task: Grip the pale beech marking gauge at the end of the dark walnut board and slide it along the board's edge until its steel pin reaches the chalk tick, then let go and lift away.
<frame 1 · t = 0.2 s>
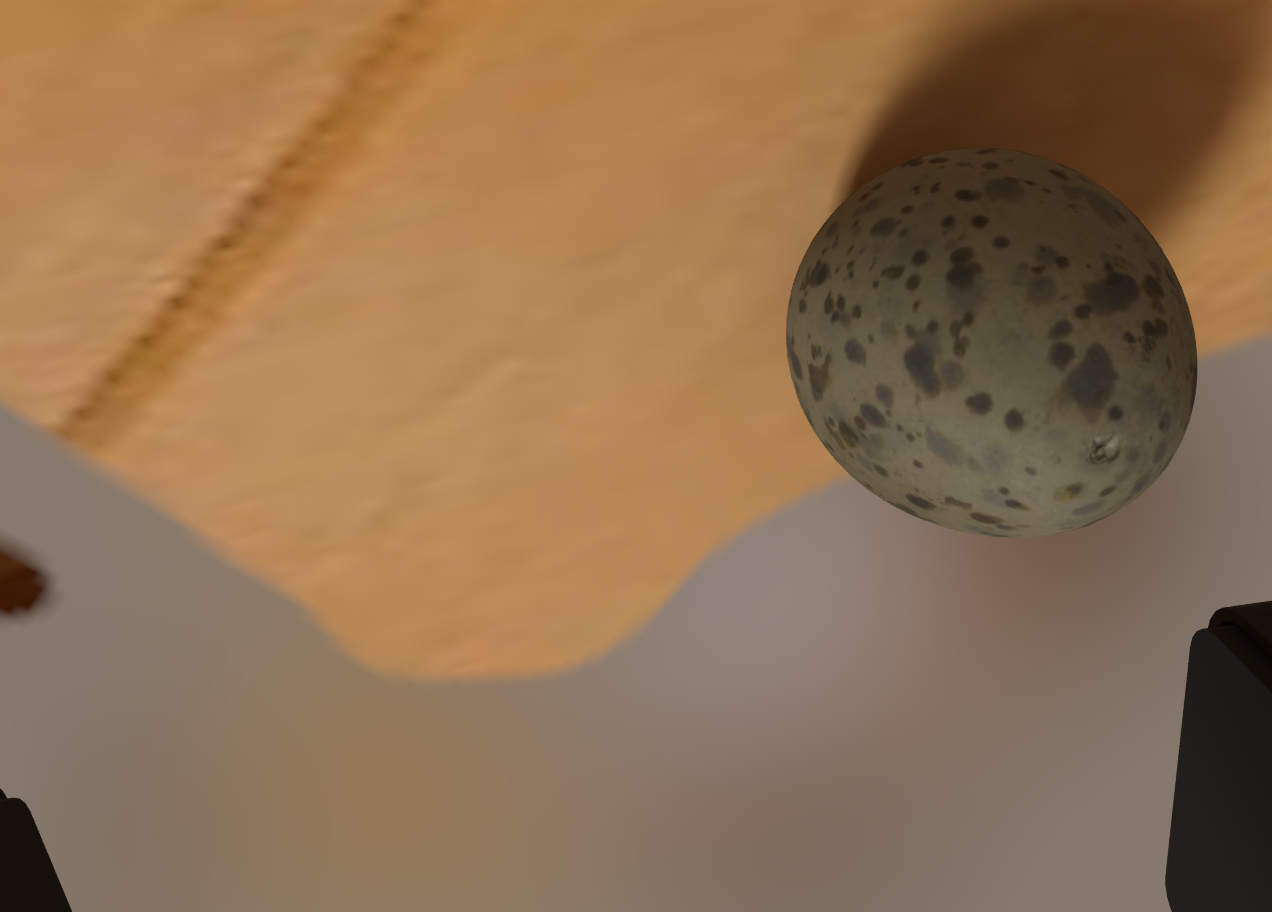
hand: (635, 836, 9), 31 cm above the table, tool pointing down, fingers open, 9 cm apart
decorative egg: (904, 277, 40), on the table
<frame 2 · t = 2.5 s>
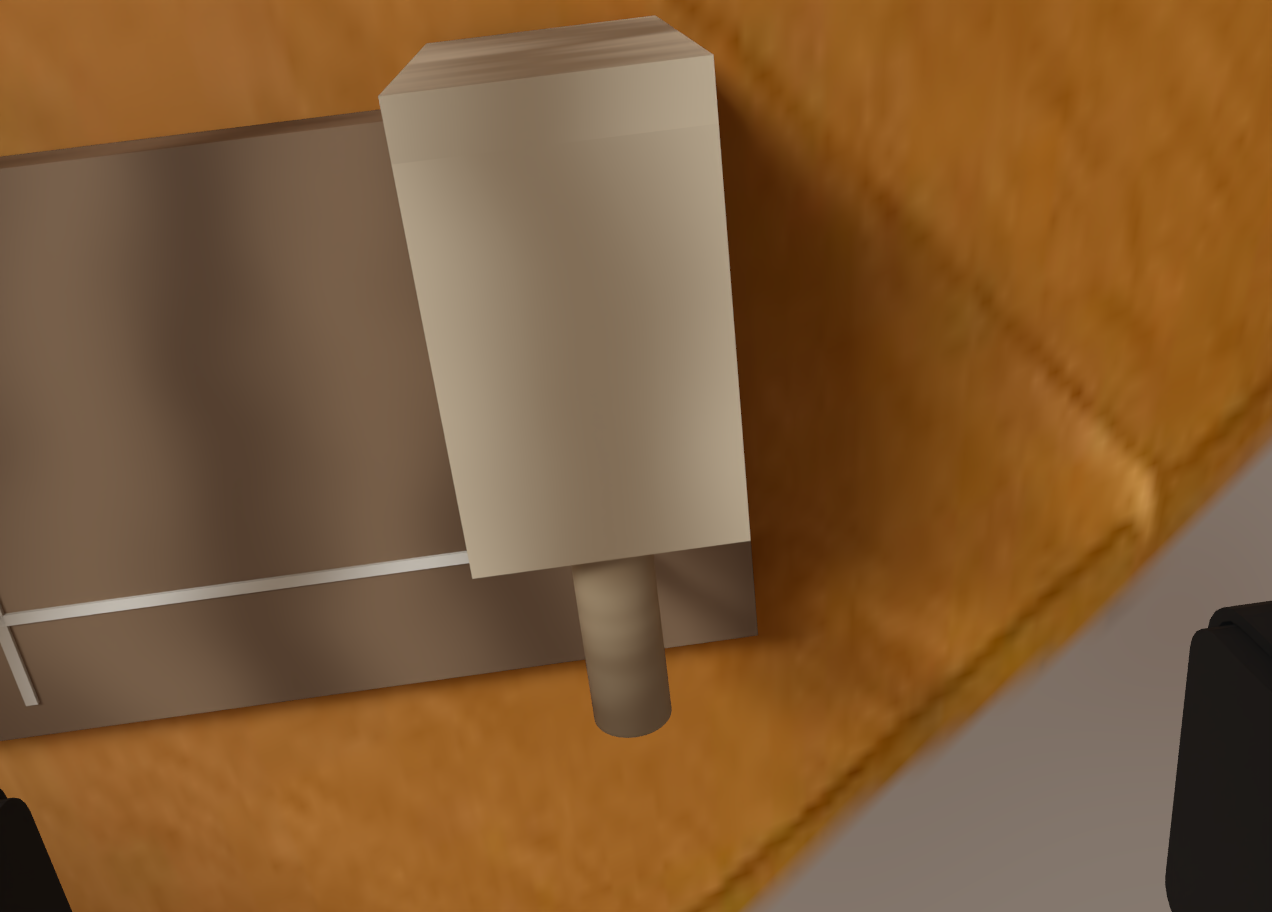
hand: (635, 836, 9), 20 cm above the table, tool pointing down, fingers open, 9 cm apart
marking gauge: (587, 374, 24), point 5 cm above the table, slide at 0.0 cm
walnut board: (269, 419, 29), on the table
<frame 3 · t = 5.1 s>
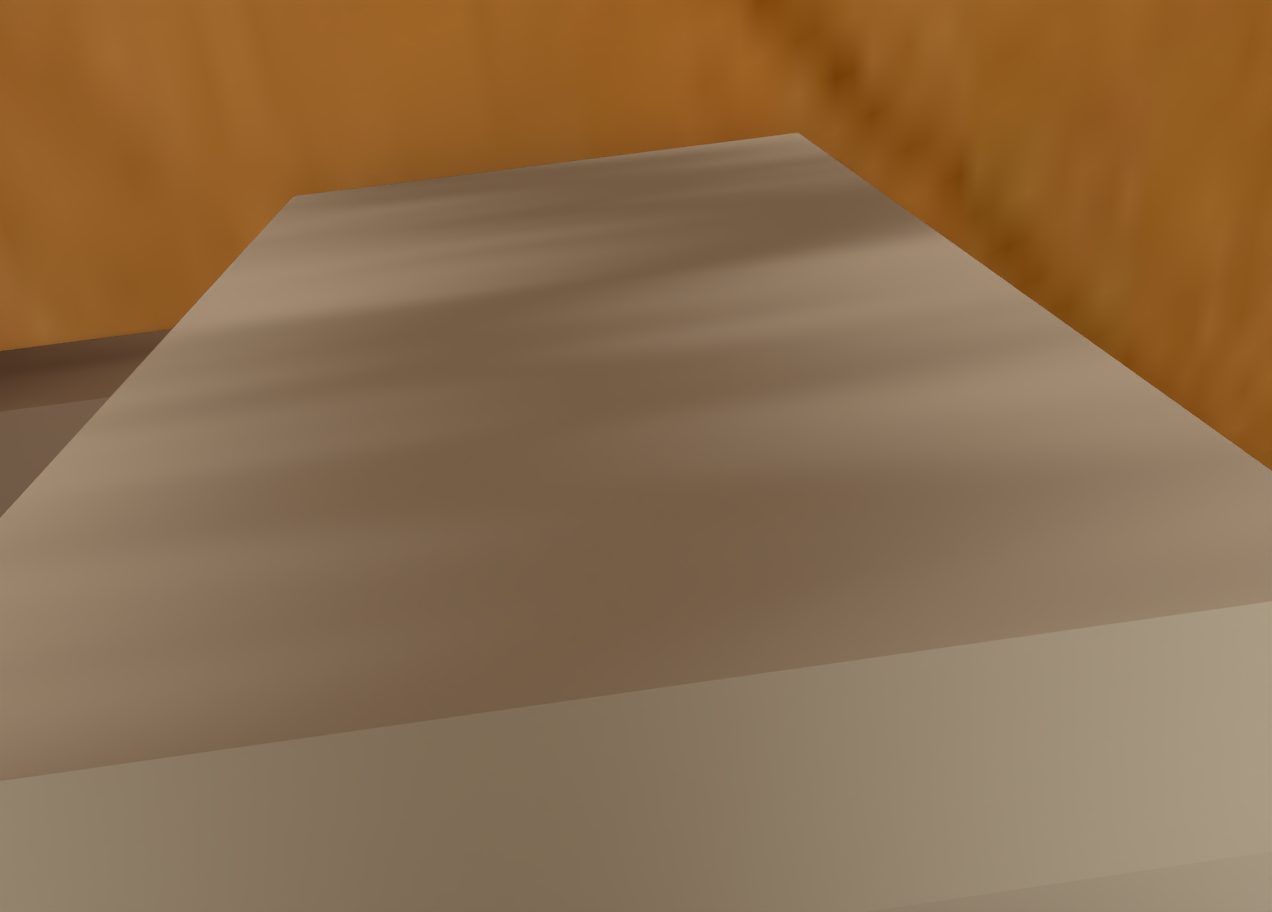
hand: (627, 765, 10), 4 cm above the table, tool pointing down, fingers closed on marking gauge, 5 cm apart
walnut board: (23, 880, 15), on the table
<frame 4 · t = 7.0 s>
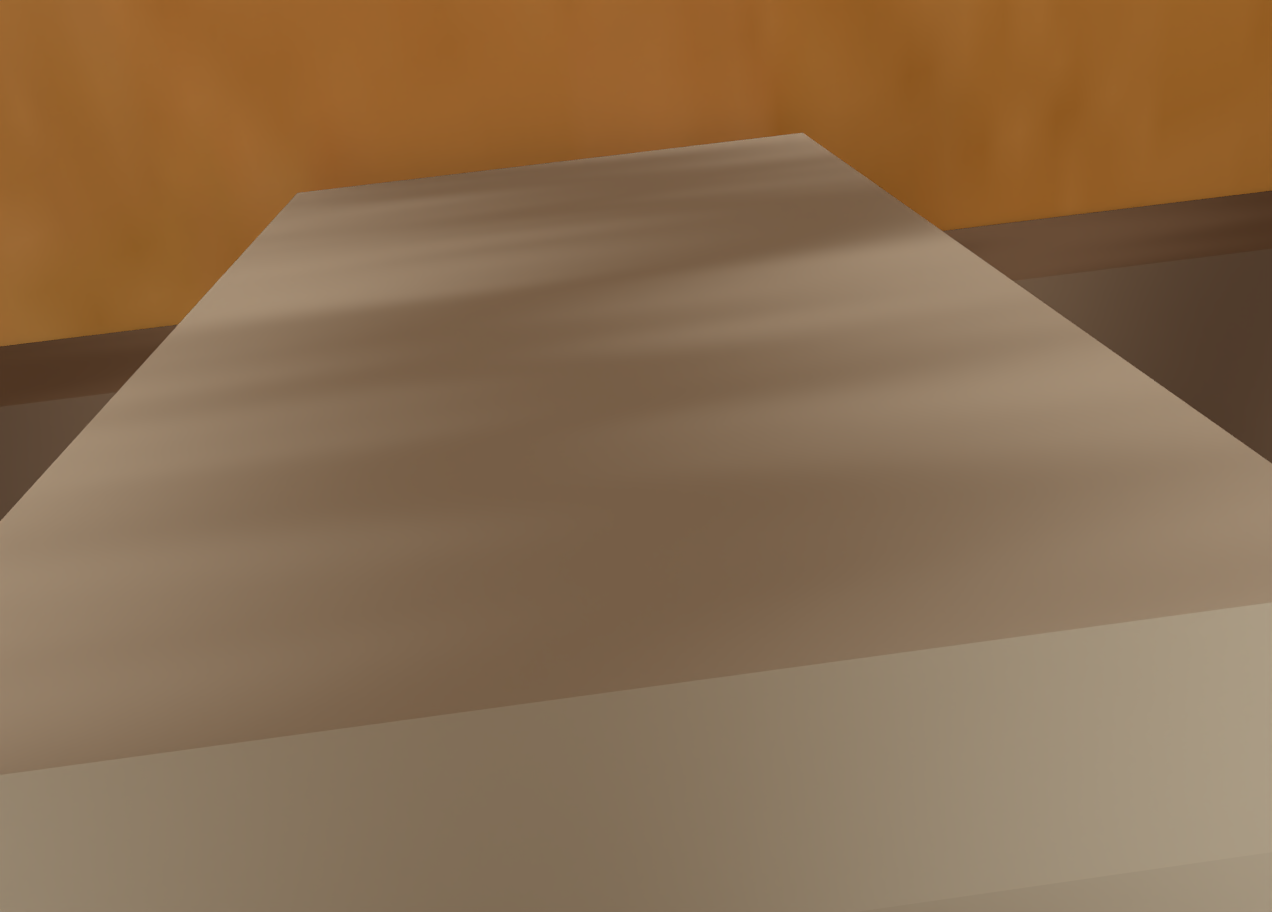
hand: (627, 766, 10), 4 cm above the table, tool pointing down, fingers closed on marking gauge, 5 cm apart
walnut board: (626, 792, 15), on the table
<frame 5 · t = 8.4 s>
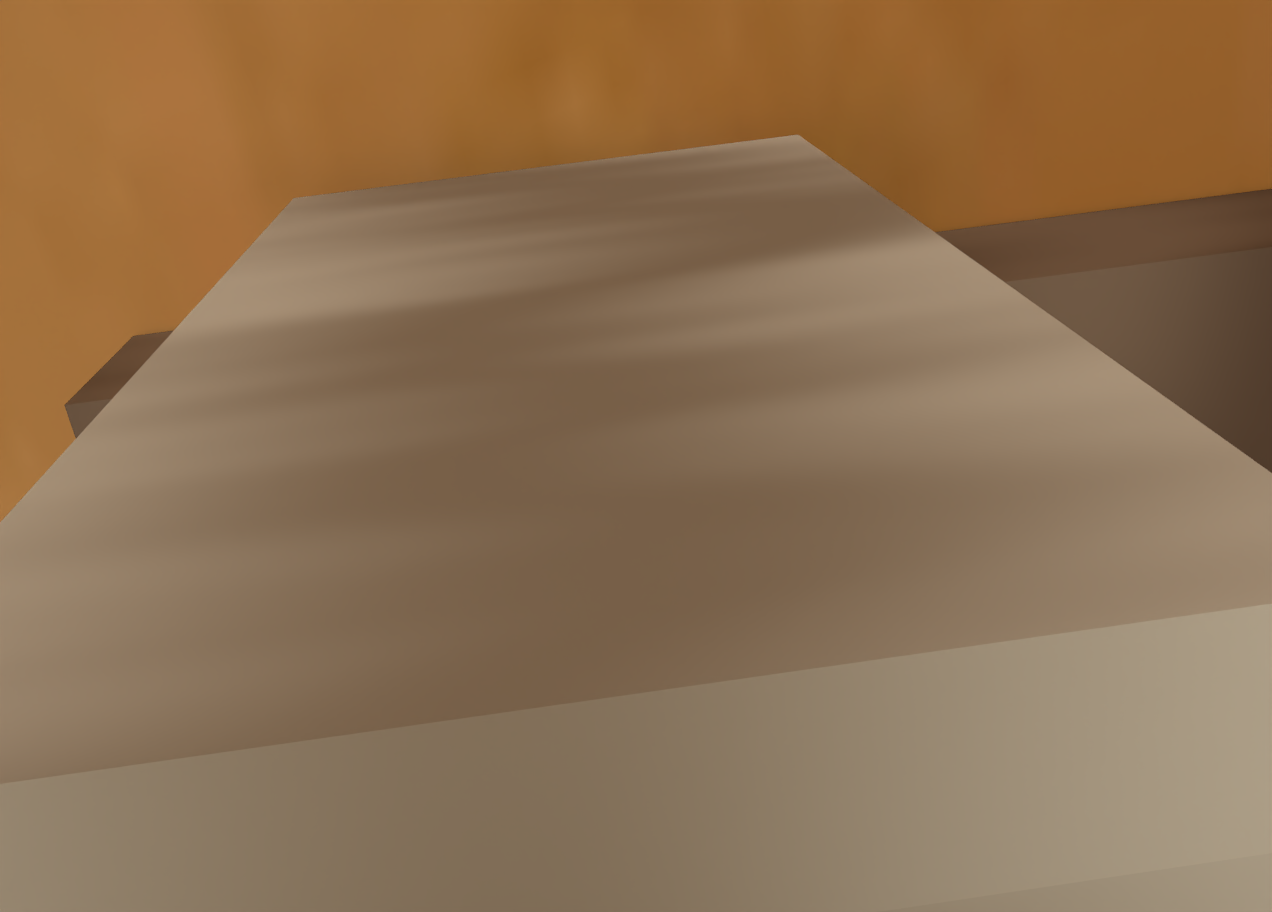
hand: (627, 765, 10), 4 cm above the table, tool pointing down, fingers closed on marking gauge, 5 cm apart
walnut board: (1145, 719, 16), on the table
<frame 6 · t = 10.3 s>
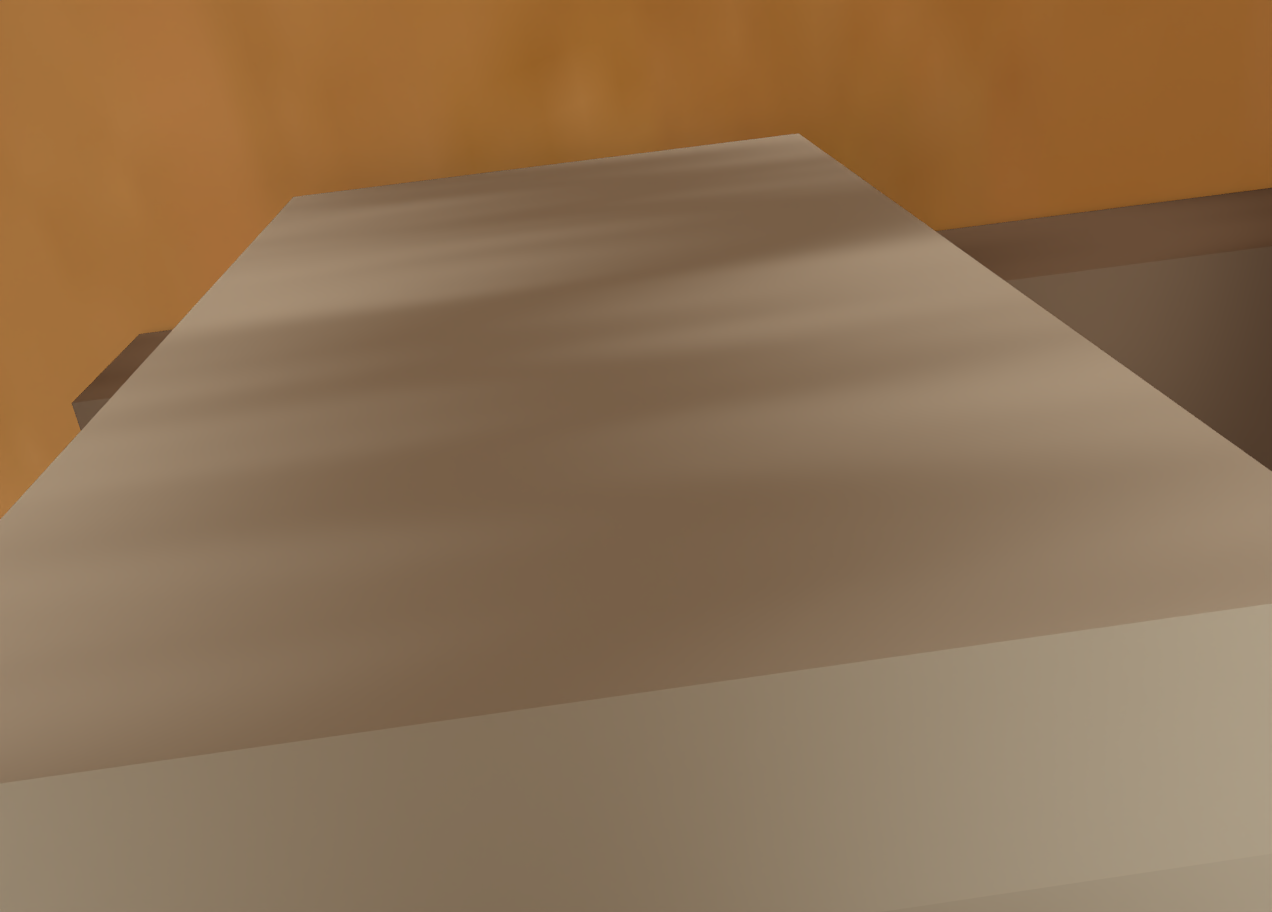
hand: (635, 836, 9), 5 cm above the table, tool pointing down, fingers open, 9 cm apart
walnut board: (1151, 718, 16), on the table
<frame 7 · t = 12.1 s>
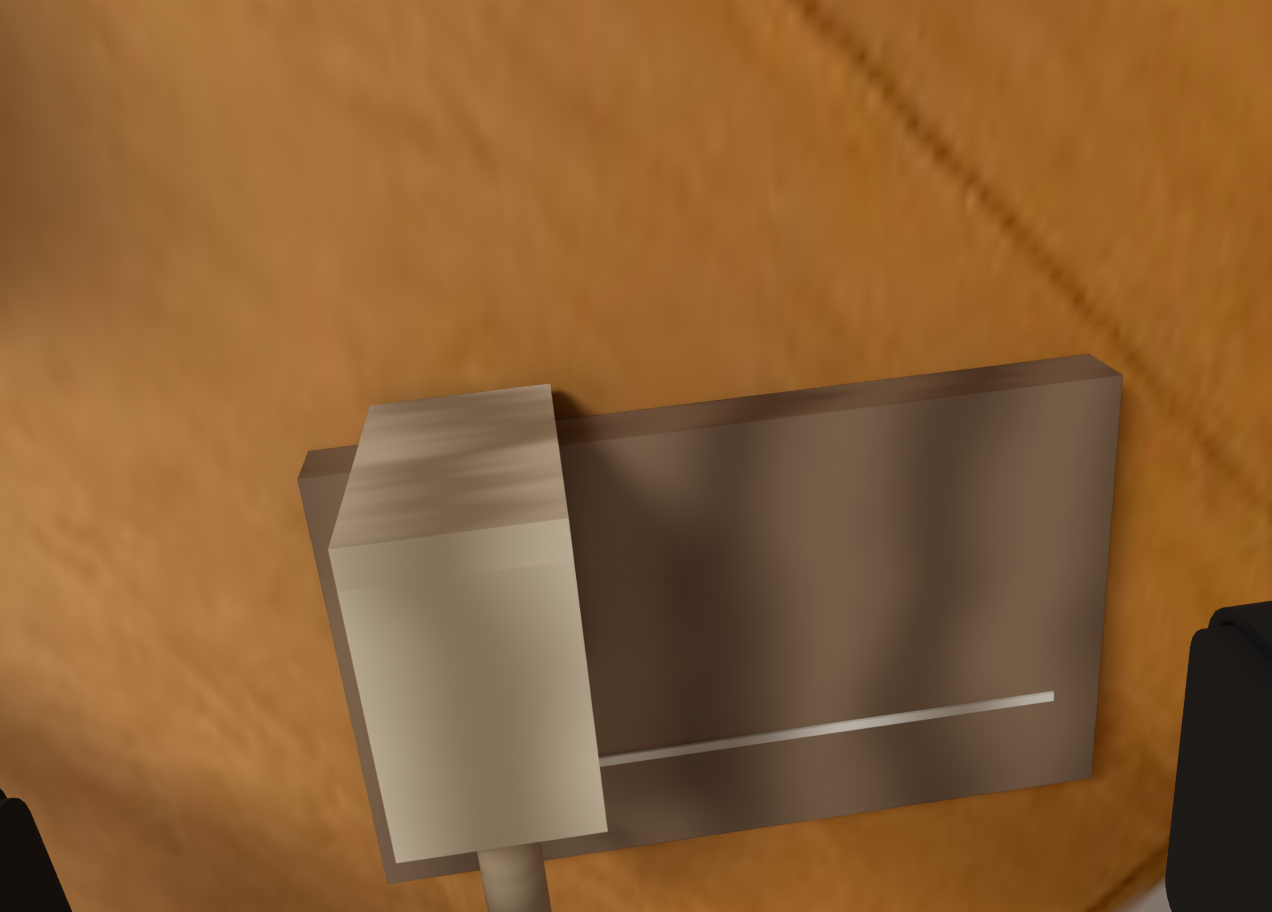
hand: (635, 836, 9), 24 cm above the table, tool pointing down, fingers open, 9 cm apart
marking gauge: (491, 676, 31), point 5 cm above the table, slide at 15.0 cm
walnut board: (722, 610, 36), on the table
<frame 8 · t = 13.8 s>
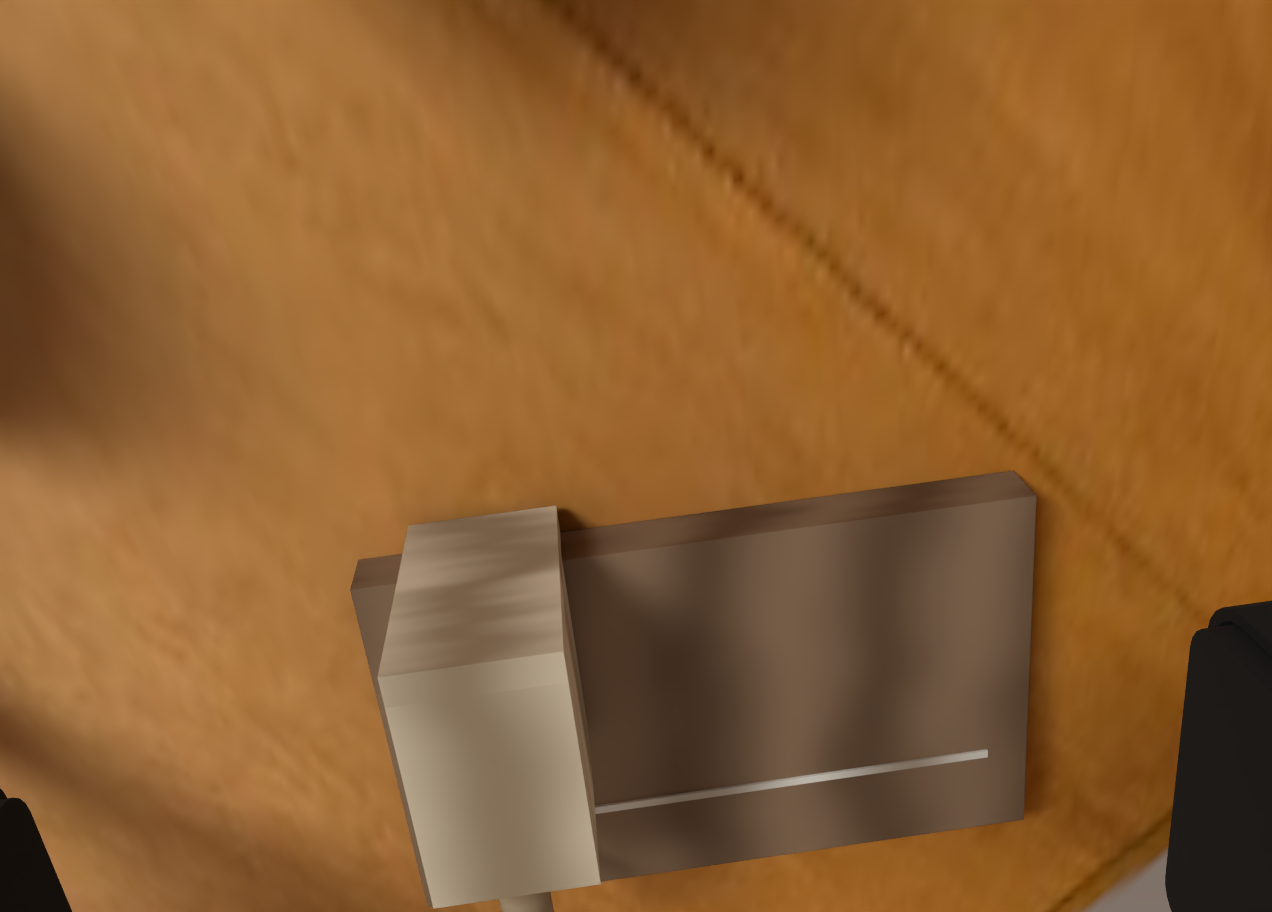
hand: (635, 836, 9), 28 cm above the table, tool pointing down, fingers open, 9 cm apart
marking gauge: (509, 750, 38), point 5 cm above the table, slide at 15.0 cm
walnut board: (705, 681, 43), on the table
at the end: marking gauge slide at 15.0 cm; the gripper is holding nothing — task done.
